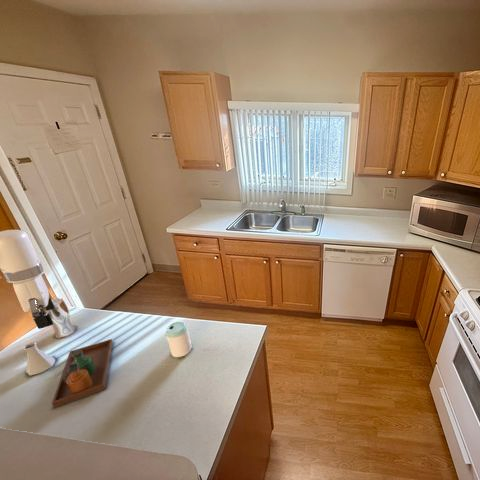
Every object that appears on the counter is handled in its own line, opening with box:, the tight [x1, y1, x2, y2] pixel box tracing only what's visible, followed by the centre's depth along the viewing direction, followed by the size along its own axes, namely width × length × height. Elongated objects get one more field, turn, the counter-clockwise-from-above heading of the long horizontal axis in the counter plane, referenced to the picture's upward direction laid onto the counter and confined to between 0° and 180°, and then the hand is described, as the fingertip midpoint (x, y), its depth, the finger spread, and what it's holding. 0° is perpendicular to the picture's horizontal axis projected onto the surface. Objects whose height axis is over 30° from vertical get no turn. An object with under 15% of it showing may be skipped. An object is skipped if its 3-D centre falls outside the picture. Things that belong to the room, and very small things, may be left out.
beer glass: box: [46, 297, 76, 339], centre depth 101 cm, size 7×7×15 cm
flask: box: [22, 341, 56, 376], centre depth 87 cm, size 7×7×10 cm
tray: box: [51, 339, 114, 408], centre depth 88 cm, size 22×12×2 cm, turn 31°
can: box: [165, 321, 193, 358], centre depth 96 cm, size 7×7×12 cm
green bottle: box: [71, 348, 96, 375], centre depth 86 cm, size 5×5×9 cm
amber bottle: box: [66, 364, 93, 394], centre depth 81 cm, size 5×5×9 cm
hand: (47, 317), depth 81 cm, fingers open, 9 cm apart
